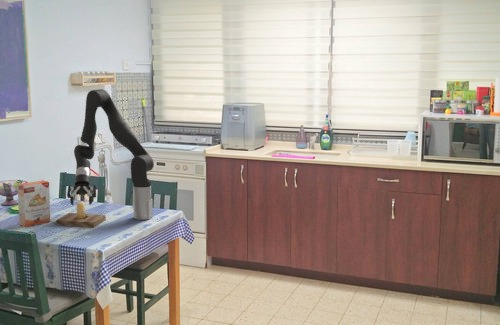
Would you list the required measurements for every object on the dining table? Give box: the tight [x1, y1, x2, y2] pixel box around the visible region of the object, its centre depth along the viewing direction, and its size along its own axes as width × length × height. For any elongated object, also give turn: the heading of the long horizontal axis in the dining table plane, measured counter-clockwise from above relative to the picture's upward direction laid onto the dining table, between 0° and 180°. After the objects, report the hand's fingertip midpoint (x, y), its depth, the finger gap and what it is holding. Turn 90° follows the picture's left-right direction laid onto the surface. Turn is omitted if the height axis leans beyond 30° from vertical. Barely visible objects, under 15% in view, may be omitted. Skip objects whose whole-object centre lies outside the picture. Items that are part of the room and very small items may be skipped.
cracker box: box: [17, 179, 51, 228], centre depth 274 cm, size 14×6×21 cm, turn 143°
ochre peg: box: [76, 201, 86, 219], centre depth 279 cm, size 4×4×10 cm
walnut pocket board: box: [55, 212, 107, 228], centre depth 279 cm, size 20×14×2 cm
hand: (81, 204), depth 281 cm, fingers open, 8 cm apart
